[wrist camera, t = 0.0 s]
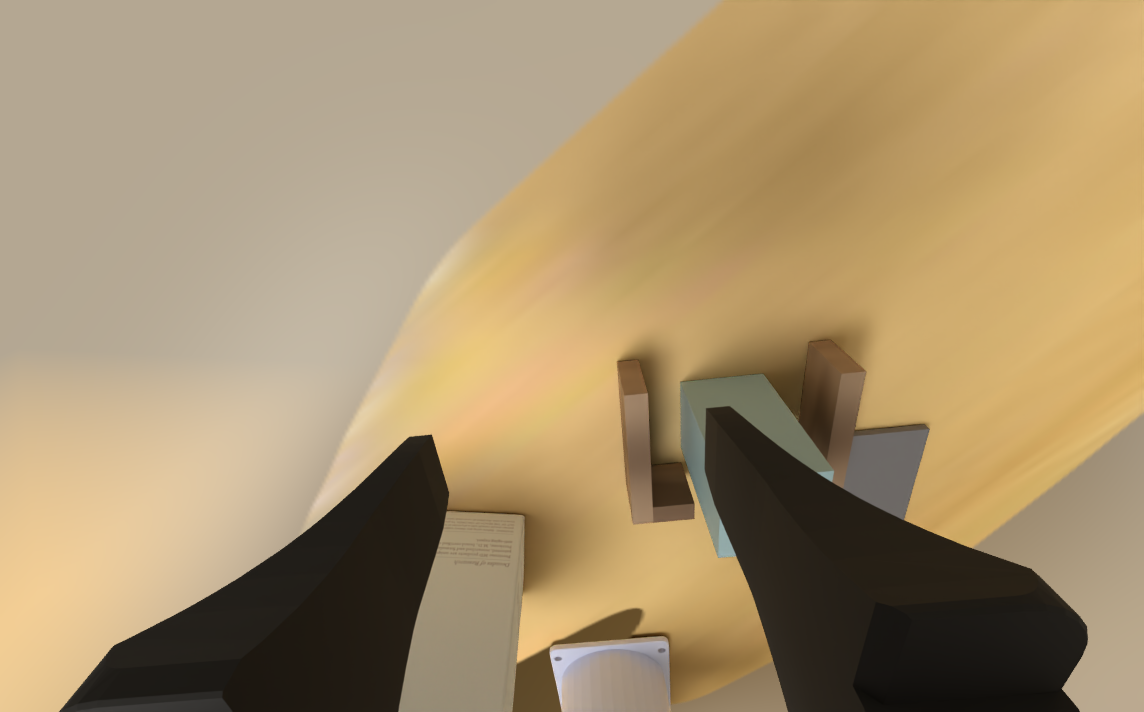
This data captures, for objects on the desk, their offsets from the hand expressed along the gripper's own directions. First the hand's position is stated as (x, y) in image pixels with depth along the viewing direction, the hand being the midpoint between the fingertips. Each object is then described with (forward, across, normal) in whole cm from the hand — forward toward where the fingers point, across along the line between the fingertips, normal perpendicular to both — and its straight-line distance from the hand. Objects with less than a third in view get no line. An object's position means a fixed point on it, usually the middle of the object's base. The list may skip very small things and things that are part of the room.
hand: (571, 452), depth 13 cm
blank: (+10, -7, +6) cm, 14 cm away
